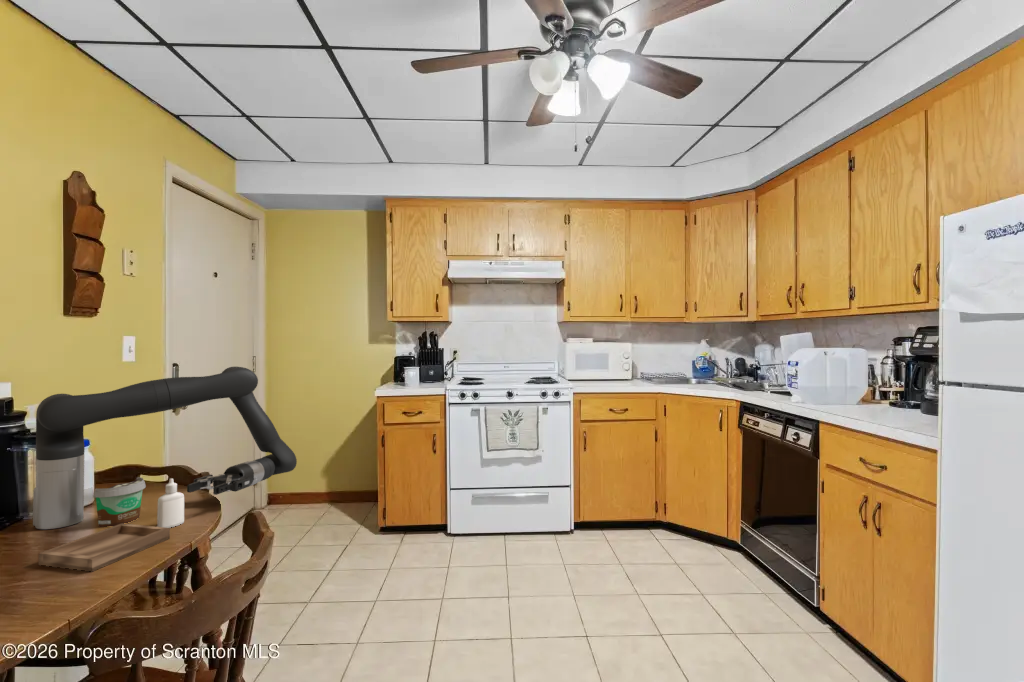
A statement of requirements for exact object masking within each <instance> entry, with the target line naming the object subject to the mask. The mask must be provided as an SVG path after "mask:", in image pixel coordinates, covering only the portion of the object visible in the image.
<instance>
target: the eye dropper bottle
mask: <svg viewBox="0 0 1024 682" xmlns="http://www.w3.org/2000/svg"><path fill="white" fill-rule="evenodd" d="M156 516H157V517H156V518H157V519H156V523H157V525H156V527H164V528H170V529H172V528H176V527H179V526H181V525H183V524H184V523H185V495H184V493H182V492H180V491H178V483H176V482H174V478H169V482H168V483H166V484H165V493H164V494H163V495H160V496H159V497H158V499H157V515H156ZM180 524H181V525H180ZM175 526H176V527H175ZM171 527H172V528H171Z"/></svg>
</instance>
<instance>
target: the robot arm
mask: <svg viewBox="0 0 1024 682" xmlns="http://www.w3.org/2000/svg"><path fill="white" fill-rule="evenodd" d="M258 384H259V379H258V376H257V374H256V373H255V372H254V371H252V369H249V368H248V367H247V368H246V367H243V366H230V367H227V368H225V369H224V370H222V371H221V373H217V374H211V375H206V376H180V377H179V376H177V377H166V378H159V379H152V380H147V381H142V382H137V383H134V384H130V385H127V386H123V387H120V388H117V389H114V390H110V391H105V392H99V393H90V394H89V393H88V394H78V395H77V394H76V395H75V394H74V395H72V394H69V393H56V394H53V395H52V394H51V395H49V396H47V397H46V398H44V399H43V400H41V402H40V403H39V404H38V406H37V407H36V413H35V414H36V416H35V426H36V427H35V428H36V429H35V445H36V446H35V449H36V450H35V453H36V457H35V459H36V463H35V465H36V467H35V468H36V470H35V472H36V473H35V479H36V480H35V487H34V488H33V494H32V495H33V497H32V501H33V502H32V503H33V505H32V510H33V511H32V526H33V527H34V526H35V529H37V530H52V529H60V528H65V527H68V526H69V527H70V526H72V525H75V524H78V523H81V522H82V521H83V520H84V508H85V507H84V506H85V448H86V447H85V439H84V427H85V426H88V425H92V424H96V423H101V422H103V421H107V420H112V419H118V418H119V419H120V418H128V417H137V416H141V415H142V416H144V415H149V414H157V413H161V412H167V411H171V410H175V409H179V408H185V407H188V406H192V405H195V404H199V403H203V402H206V401H207V402H208V401H212V400H221V399H228V398H229V399H230V400H231V402H232V404H233V405H234V406H235V408H236V409H237V410H238V412H239V414H240V415H241V417H242V419H243V421H244V422H245V424H246V427H247V428H248V430H249V433H250V434H251V436H252V438H253V440H254V441H255V444H256V447H258V449H259V451H260V452H263V453H269V454H267V455H265V456H263V457H260V458H256V459H254V460H249V461H245V462H241V463H237V464H235V465H231V466H229V467H227V468H226V469H225V470H224V472H223V473H221V474H217V475H213V474H208V475H204V476H202V477H197V478H195V479H193V482H192V483H189V484H187V486H186V491H187V493H193V492H196V491H199V490H203V489H207V490H213V495H214V496H215V495H220V494H223V493H225V492H226V493H228V492H235V493H236V492H238V491H241V490H244V489H246V488H249V487H252V486H254V485H256V484H258V483H259V482H263V481H265V480H267V479H270V478H271V477H272V476H276V475H279V474H280V475H281V474H284V473H290V472H292V471H294V470H295V468H296V466H297V462H298V461H297V460H298V459H297V456H296V453H294V451H293V449H291V447H290V446H289V445H288V444H287V443H286V442H285V441H284V440H283V439H282V438H281V437H280V434H279V433H278V431H277V428H276V427H275V425H274V423H273V422H272V420H271V419H270V417H269V416H268V414H267V413H266V411H264V410H263V408H262V407H261V405H260V404H259V402H258V401H257V398H256V397H255V395H254V393H253V392H254V391H255V390H256V389H257V387H258ZM211 485H212V486H211Z"/></svg>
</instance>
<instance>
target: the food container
mask: <svg viewBox="0 0 1024 682" xmlns="http://www.w3.org/2000/svg"><path fill="white" fill-rule="evenodd" d="M146 487H147V485H146V482H145V480H144V478H143V477H141V476H140V477H139V476H137V477H136V480H133V481H130V482H126V483H118V484H115V485H112V486H110V487H108V488H95V490H94V491H93V495H92V498H95V503H96V512H97V513H96V514H97V523H98V524H97V525H98V526H97V527H98V528H108V527H107V526H116V525H119V524H122V523H128V522H131V521H133V520H136V519H137V518H139V519H140V517H141V516H140V514H141V507H142V500H143V499H142V497H143V490H144V489H145V488H146ZM139 516H140V517H139ZM136 521H137V520H136ZM131 523H132V522H131ZM128 524H129V523H128Z"/></svg>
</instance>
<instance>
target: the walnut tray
mask: <svg viewBox="0 0 1024 682" xmlns="http://www.w3.org/2000/svg"><path fill="white" fill-rule="evenodd" d="M170 533H171V528H164V527H157V526H154V525H153V526H152V525H142V524H131V523H128V524H124V523H122V524H119V525H116V526H113V527H107V528H105V529H103V530H100V531H97V532H94V533H91V534H89V535H86V536H83V537H80V538H77V539H74V540H72V541H69V542H65V543H63V544H61V545H57V546H55V547H53V548H49V549H46V550H44V551H41V552H39V553H38V566H41V565H46V566H45V567H49V566H52V567H51V568H57V567H60V568H59V569H65V568H69V569H68V570H73V569H77V570H76V571H81V570H85V571H84V572H89V571H91V572H92V573H93V572H96V571H98V570H100V569H102V568H105V567H106V566H109V565H112V564H113V563H116V562H118V560H119V561H121V560H123V559H125V558H128V557H130V556H132V555H135V554H137V553H139V552H141V551H144V550H146V549H149V548H151V547H153V546H156V545H158V544H161V543H162V542H165V541H167V540H170V538H171V535H170ZM104 566H105V567H104ZM101 567H102V568H101ZM97 569H98V570H97ZM91 572H90V573H91Z"/></svg>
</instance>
